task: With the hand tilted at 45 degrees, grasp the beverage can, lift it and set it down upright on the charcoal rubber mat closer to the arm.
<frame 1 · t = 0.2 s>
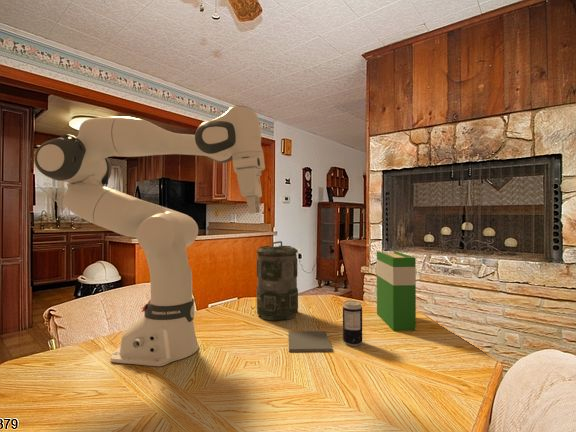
hand: (254, 213, 89), 39 cm above the table, tool pointing down, fingers open, 8 cm apart
beverage can: (352, 343, 93), on the table
mat: (308, 342, 94), on the table
hardback book: (394, 322, 111), on the table
canister: (277, 315, 119), on the table
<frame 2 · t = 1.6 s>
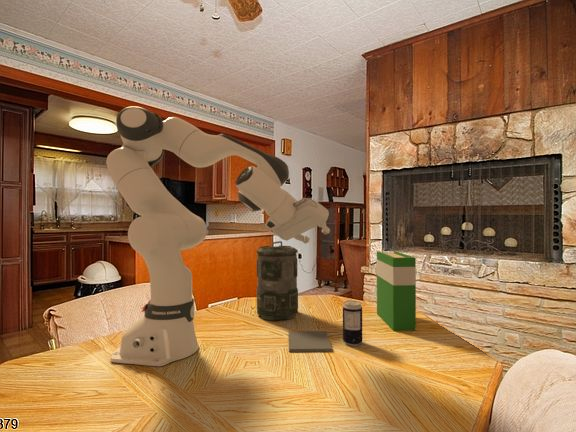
hand: (317, 237, 96), 31 cm above the table, tool tilted 50°, fingers open, 8 cm apart
nothing on the table moved.
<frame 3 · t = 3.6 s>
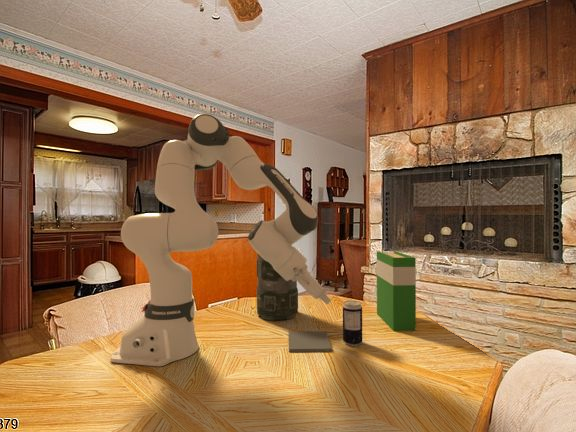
hand: (324, 297, 94), 13 cm above the table, tool tilted 45°, fingers open, 8 cm apart
nothing on the table moved.
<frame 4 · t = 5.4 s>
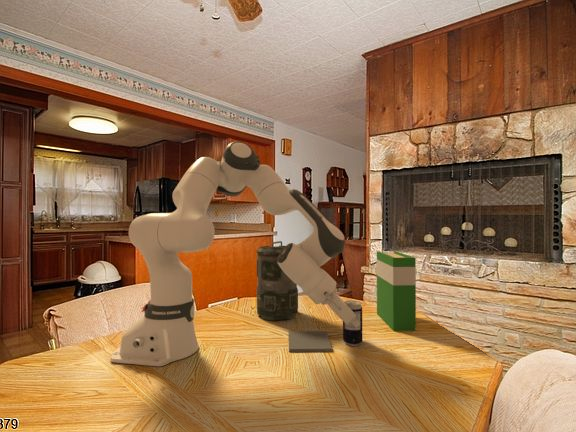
hand: (354, 320, 93), 7 cm above the table, tool tilted 45°, fingers closed on beverage can, 6 cm apart
beverage can: (352, 343, 93), on the table, touching gripper
everything else where it was.
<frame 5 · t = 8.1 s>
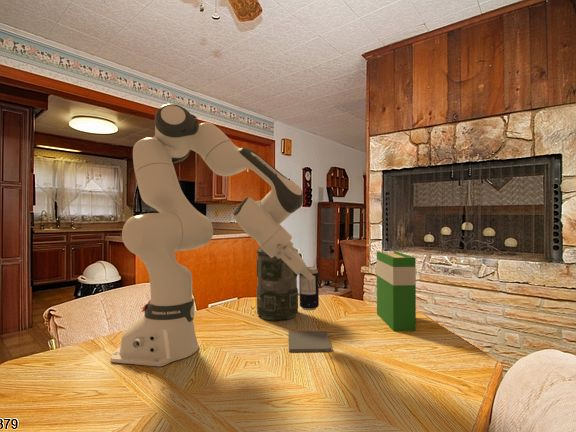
hand: (310, 276, 93), 20 cm above the table, tool tilted 45°, fingers closed on beverage can, 6 cm apart
beverage can: (309, 309, 93), point 10 cm above the table, touching gripper
everything else where it was.
when the fingers open (9 cm above the table, at t = 10.8 s): beverage can stays where it is, resting on mat.
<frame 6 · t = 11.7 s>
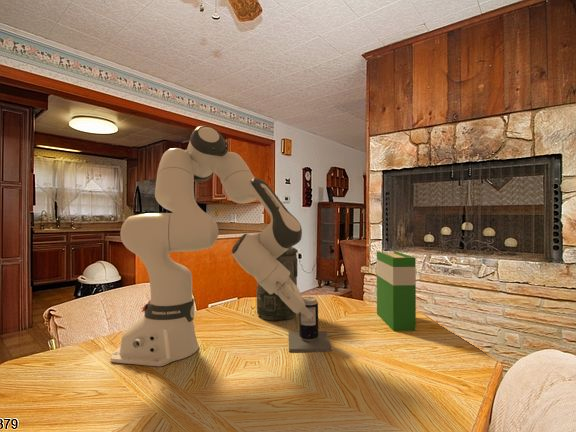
hand: (309, 311, 93), 9 cm above the table, tool tilted 45°, fingers open, 8 cm apart
beverage can: (308, 338, 94), point 1 cm above the table, touching gripper, mat
everything else where it was.
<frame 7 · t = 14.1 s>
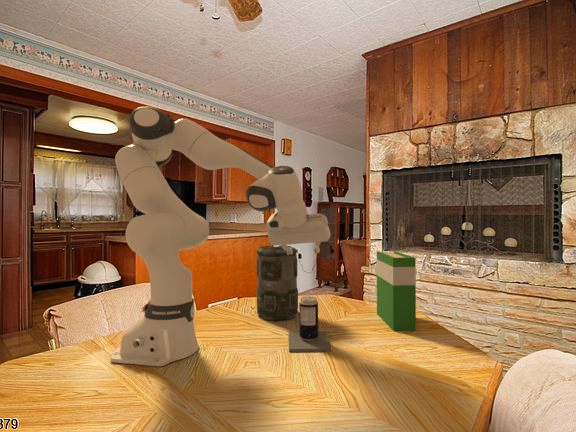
hand: (303, 253, 104), 26 cm above the table, tool tilted 25°, fingers open, 8 cm apart
beverage can: (308, 338, 94), point 1 cm above the table, touching mat
everything else where it was.
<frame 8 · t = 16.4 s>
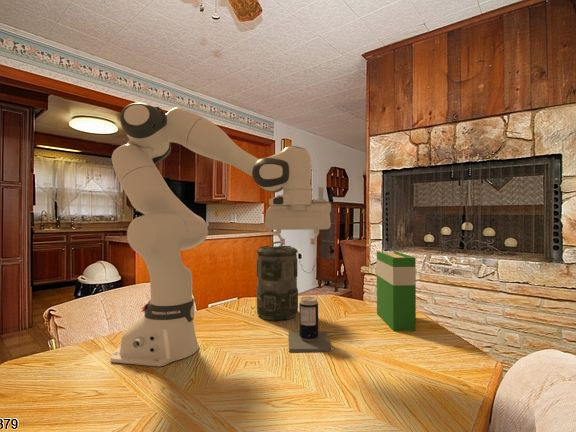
hand: (297, 244, 96), 29 cm above the table, tool pointing down, fingers open, 8 cm apart
nothing on the table moved.
at the end: beverage can inside the target area on the mat (0.8 cm from its centre), point 0.6 cm above the mat's base; beverage can tilted 0°; the gripper is holding nothing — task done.
